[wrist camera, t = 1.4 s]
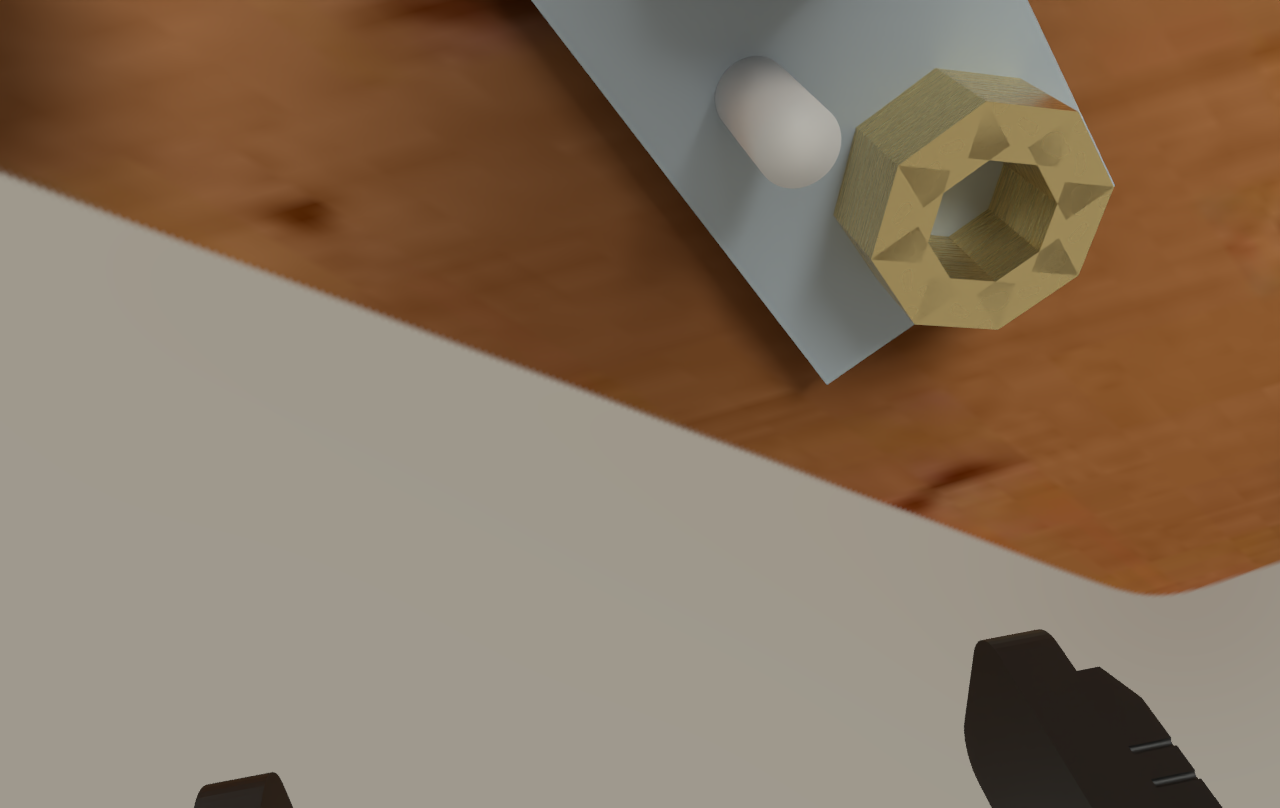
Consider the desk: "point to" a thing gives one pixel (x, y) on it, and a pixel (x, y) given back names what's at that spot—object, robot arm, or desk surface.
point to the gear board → (843, 83)
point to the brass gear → (1000, 236)
